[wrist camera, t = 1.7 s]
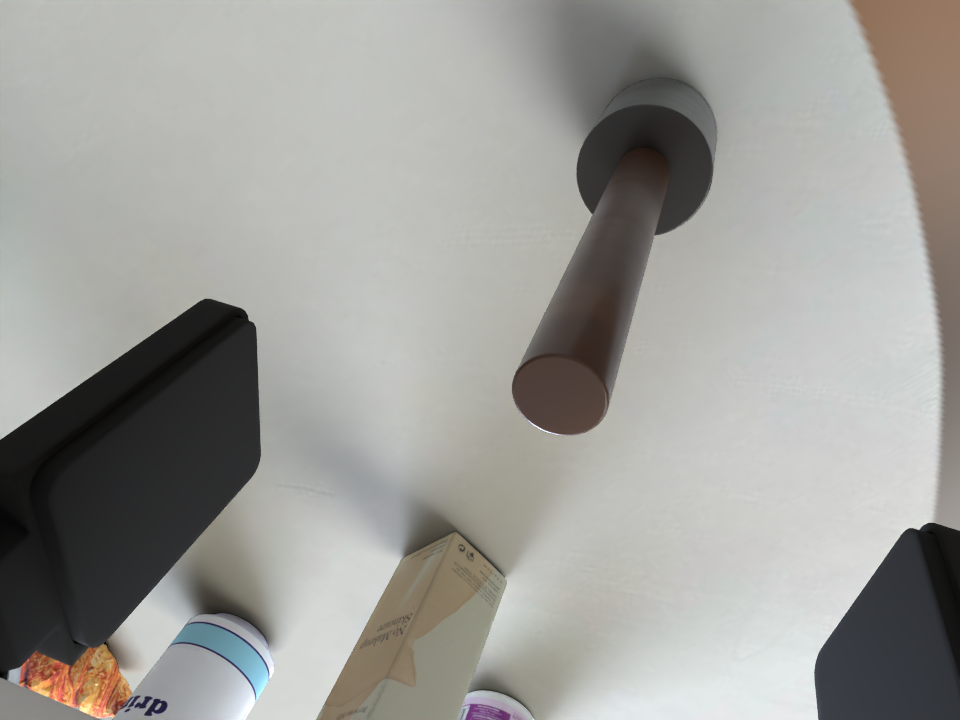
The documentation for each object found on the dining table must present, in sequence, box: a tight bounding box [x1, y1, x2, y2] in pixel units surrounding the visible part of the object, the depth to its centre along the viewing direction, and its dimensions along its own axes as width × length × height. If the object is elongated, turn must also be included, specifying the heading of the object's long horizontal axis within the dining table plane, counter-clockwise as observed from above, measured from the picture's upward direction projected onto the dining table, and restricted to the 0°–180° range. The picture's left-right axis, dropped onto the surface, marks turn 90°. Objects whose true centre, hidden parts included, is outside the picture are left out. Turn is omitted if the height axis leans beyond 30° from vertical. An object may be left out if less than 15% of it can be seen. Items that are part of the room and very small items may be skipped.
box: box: [316, 532, 507, 720], centre depth 35 cm, size 5×4×11 cm
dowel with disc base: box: [512, 78, 717, 436], centre depth 18 cm, size 4×4×16 cm
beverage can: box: [112, 613, 274, 720], centre depth 45 cm, size 7×7×12 cm
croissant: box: [19, 644, 132, 718], centre depth 56 cm, size 21×10×8 cm, turn 58°
